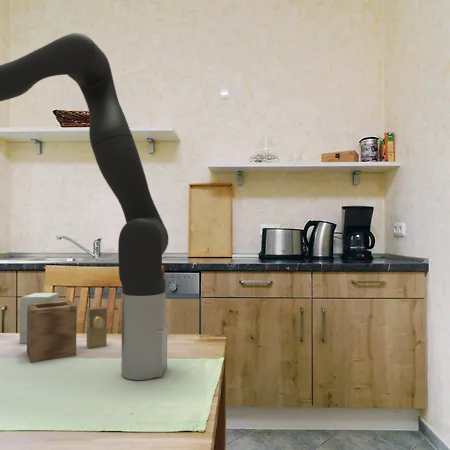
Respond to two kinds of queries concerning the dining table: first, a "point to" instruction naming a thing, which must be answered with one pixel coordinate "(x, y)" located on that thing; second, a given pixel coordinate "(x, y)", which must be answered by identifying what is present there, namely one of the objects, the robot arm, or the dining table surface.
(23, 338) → the supplement box
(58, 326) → the brown wooden bin
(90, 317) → the gold rectangular block
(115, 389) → the dining table surface
